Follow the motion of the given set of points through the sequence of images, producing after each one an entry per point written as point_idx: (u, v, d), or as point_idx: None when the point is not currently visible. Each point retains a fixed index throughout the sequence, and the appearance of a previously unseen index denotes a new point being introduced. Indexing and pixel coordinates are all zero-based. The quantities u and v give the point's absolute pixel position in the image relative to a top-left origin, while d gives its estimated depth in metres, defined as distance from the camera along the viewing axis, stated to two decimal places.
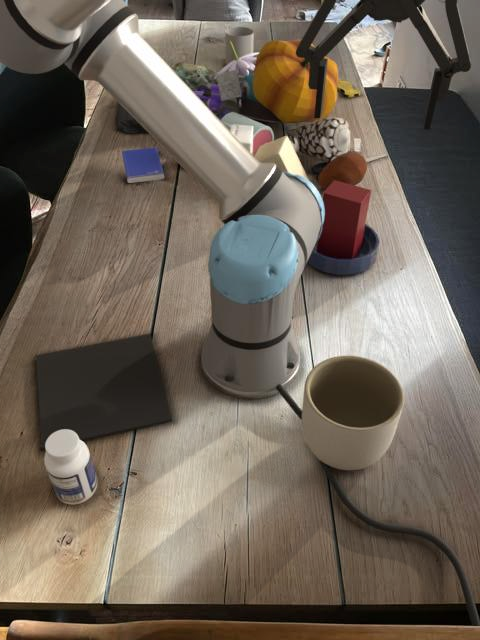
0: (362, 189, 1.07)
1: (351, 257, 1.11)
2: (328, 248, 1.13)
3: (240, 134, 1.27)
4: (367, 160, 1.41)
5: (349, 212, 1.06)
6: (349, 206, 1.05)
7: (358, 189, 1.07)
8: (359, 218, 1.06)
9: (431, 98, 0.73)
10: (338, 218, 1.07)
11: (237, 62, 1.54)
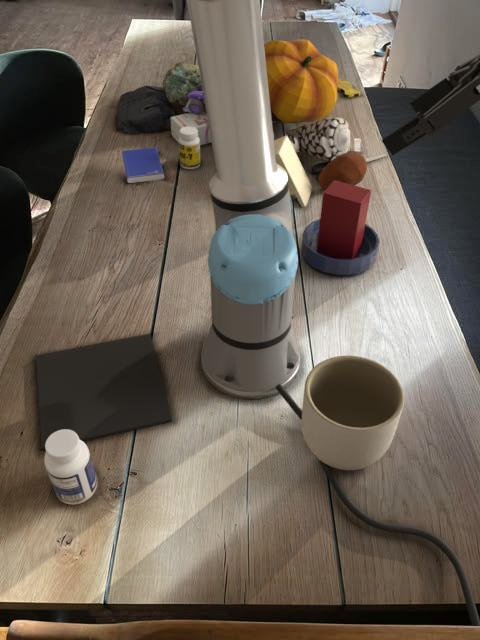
0: (362, 189, 1.07)
1: (351, 257, 1.11)
2: (328, 248, 1.13)
3: None
4: (367, 160, 1.41)
5: (349, 212, 1.06)
6: (349, 206, 1.05)
7: (358, 189, 1.07)
8: (359, 218, 1.06)
9: None
10: (338, 218, 1.07)
11: None
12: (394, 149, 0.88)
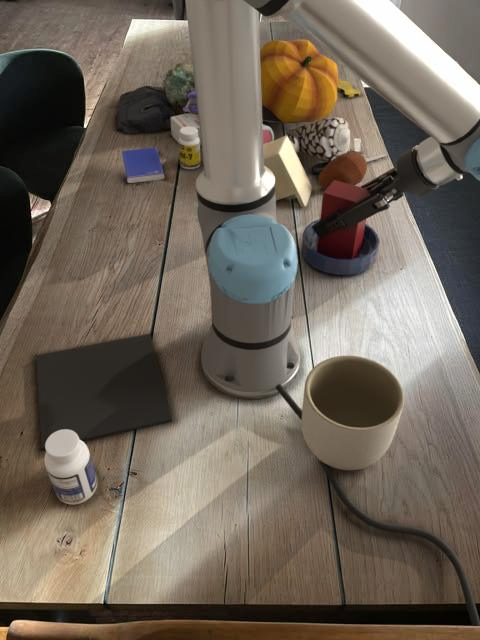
0: (362, 189, 1.07)
1: (351, 257, 1.11)
2: (328, 248, 1.13)
3: None
4: (367, 160, 1.41)
5: None
6: None
7: (358, 189, 1.07)
8: None
9: None
10: None
11: None
12: (321, 234, 1.11)
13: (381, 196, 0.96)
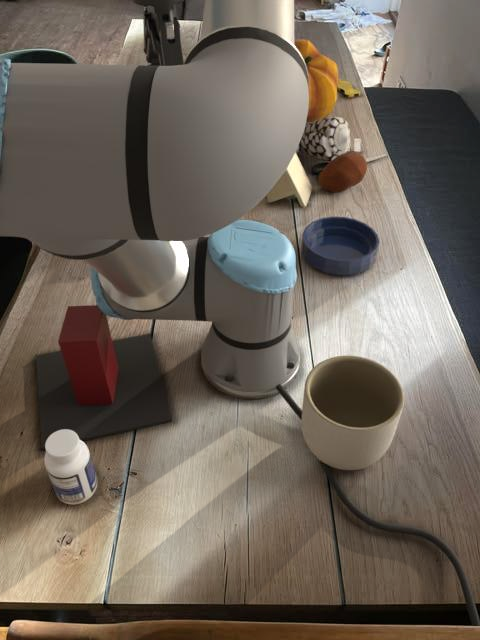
0: (70, 312, 0.83)
1: None
2: (112, 384, 0.88)
3: None
4: (367, 160, 1.41)
5: (105, 326, 0.85)
6: (103, 321, 0.84)
7: (72, 315, 0.83)
8: None
9: None
10: (105, 343, 0.85)
11: None
12: None
13: (161, 22, 0.76)
